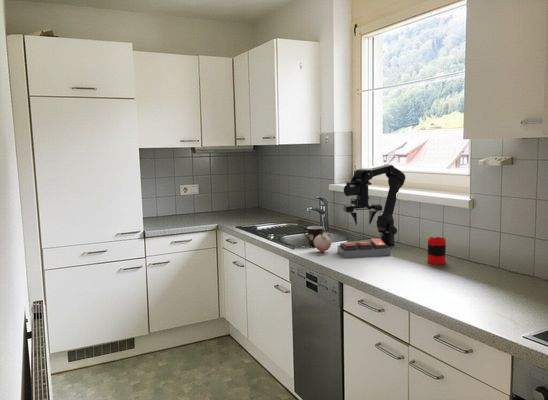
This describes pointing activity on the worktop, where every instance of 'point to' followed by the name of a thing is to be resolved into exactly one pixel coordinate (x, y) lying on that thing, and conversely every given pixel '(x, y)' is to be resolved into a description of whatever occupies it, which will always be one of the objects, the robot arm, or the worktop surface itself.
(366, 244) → the middle rocker
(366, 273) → the worktop surface
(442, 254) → the soda can
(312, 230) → the coffee mug
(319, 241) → the decorative fruit
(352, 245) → the rocker
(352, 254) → the power strip
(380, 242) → the rocker
